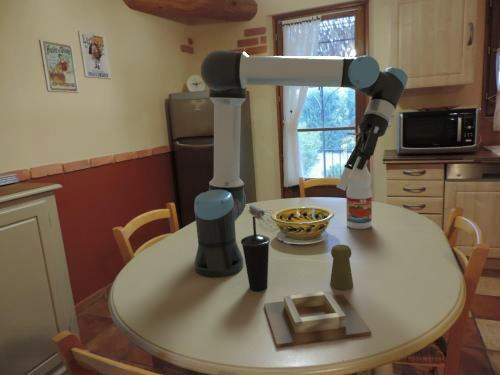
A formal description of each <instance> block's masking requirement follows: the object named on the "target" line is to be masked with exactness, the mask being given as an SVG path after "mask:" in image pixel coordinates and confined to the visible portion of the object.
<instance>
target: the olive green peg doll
mask: <svg viewBox="0 0 500 375" xmlns="http://www.w3.org/2000/svg"><path fill="white" fill-rule="evenodd" d="M330 254H331V257H332V258H333V259H332V267H331V274H330V282H329V283H330V284H329V285H330V287H331V288H333V289H335V290H338V291H348V290H350V289H353V288H354V281H353V275H352V268H351V262H350V258H351V257H352V249H351V248H350V246H348V245H346V244H336V245H333V246H332V248H331V250H330Z"/></svg>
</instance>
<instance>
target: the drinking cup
mask: <svg viewBox="0 0 500 375" xmlns="http://www.w3.org/2000/svg"><path fill="white" fill-rule="evenodd" d="M256 225H257V223H256V217H255V216H252V228H253V231H252V232H253V234H250V235H248V236H245V237H243V238H242V239H241V240H240V243H241V245H242V249H243V256H244V262H245V266H246V267H245V269H246V273H247V279H248V284H249V285H248V287H249V289H250V291H253V292H259V293H260V292H264V291H265V290H267V289H268V282H269V281H268V277H269V250H270V246H269V245H270V241H271V239H270V238H269V237H268V236H266V235H262V234H257V227H256Z"/></svg>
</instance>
